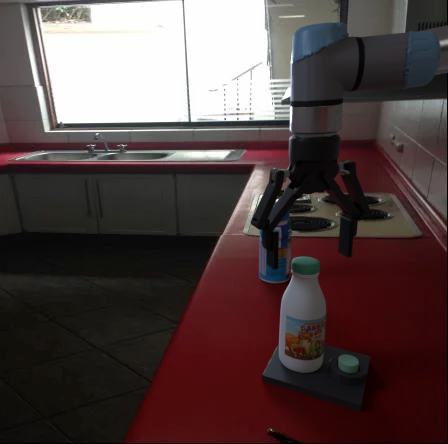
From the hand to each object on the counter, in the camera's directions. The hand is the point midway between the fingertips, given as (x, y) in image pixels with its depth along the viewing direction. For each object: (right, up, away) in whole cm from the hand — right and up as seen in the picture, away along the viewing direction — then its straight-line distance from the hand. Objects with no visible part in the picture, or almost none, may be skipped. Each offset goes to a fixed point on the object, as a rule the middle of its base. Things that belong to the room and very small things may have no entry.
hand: (309, 260), depth 71 cm
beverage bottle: (+6, -9, +42) cm, 43 cm away
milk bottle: (0, -19, +6) cm, 20 cm away
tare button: (+7, -19, +2) cm, 20 cm away
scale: (+3, -21, +5) cm, 22 cm away
